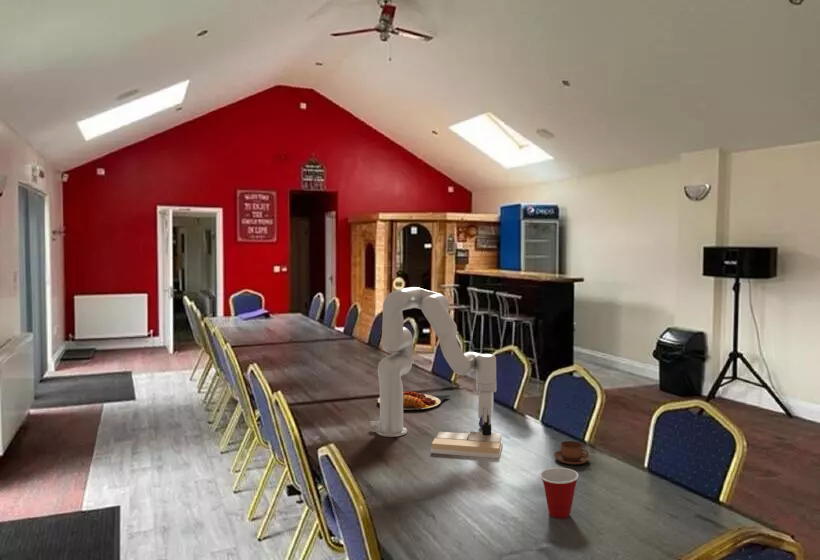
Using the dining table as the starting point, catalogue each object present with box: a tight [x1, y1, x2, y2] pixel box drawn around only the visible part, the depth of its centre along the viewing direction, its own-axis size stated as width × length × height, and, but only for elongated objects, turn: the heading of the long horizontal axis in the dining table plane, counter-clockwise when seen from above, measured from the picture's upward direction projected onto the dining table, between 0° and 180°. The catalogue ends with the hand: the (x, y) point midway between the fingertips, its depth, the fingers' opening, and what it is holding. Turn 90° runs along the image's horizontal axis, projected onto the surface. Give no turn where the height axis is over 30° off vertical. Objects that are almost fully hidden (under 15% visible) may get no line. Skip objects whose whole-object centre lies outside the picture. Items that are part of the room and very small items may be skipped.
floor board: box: [430, 437, 503, 459], centre depth 234 cm, size 25×14×4 cm, turn 77°
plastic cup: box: [539, 467, 579, 519], centre depth 178 cm, size 11×11×12 cm
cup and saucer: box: [553, 440, 590, 465], centre depth 221 cm, size 12×12×6 cm
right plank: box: [468, 431, 502, 443], centre depth 236 cm, size 12×7×2 cm, turn 77°
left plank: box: [435, 431, 470, 440], centre depth 238 cm, size 12×7×2 cm, turn 77°
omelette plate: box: [377, 390, 451, 411], centre depth 301 cm, size 31×35×7 cm
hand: (486, 434), depth 237 cm, fingers closed
